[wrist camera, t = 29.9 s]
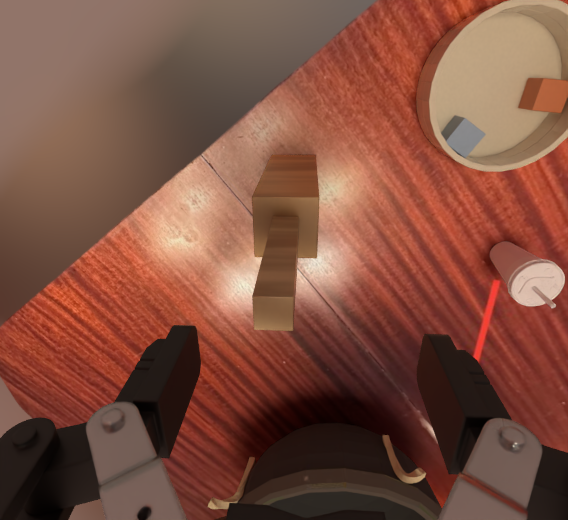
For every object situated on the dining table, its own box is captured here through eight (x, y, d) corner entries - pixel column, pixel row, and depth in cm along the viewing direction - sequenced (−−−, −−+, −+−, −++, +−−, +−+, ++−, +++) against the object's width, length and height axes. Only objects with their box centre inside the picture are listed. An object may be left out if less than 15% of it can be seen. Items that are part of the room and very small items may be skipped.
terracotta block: (527, 77, 46) (543, 77, 43) (556, 80, 46) (573, 81, 43) (517, 108, 47) (532, 110, 44) (545, 110, 47) (561, 113, 44)
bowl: (275, 509, 87) (266, 623, 69) (217, 397, 73) (186, 504, 55) (435, 488, 80) (471, 607, 62) (404, 360, 66) (440, 467, 48)
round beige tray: (427, 7, 44) (444, -3, 38) (585, 5, 43) (625, -5, 37) (407, 160, 51) (418, 170, 46) (540, 161, 50) (568, 172, 45)
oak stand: (271, 154, 52) (252, 196, 34) (315, 154, 52) (319, 197, 34) (272, 197, 55) (254, 257, 37) (314, 197, 54) (316, 258, 36)
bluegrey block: (455, 115, 48) (464, 117, 45) (475, 130, 49) (486, 134, 46) (436, 138, 49) (444, 142, 46) (455, 153, 50) (465, 158, 47)
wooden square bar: (272, 216, 35) (252, 296, 22) (299, 216, 35) (293, 297, 22) (273, 240, 36) (253, 329, 23) (298, 241, 36) (293, 331, 23)
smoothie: (474, 245, 56) (522, 294, 43) (518, 225, 54) (582, 270, 42) (487, 278, 58) (537, 334, 46) (531, 260, 57) (594, 313, 44)
